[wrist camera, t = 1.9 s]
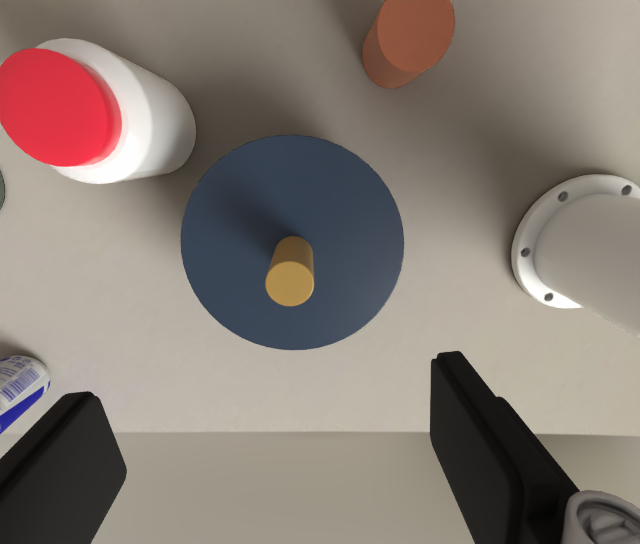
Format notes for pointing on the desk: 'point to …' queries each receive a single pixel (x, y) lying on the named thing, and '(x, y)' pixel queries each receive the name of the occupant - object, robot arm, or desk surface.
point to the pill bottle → (94, 113)
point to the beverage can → (20, 386)
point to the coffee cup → (2, 190)
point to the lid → (292, 242)
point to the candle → (407, 40)
